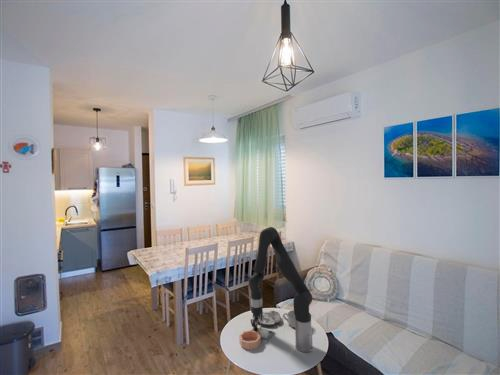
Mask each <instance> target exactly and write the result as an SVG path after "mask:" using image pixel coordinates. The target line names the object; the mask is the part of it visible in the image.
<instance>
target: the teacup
mask: <svg viewBox="0 0 500 375" xmlns="http://www.w3.org/2000/svg"><path fill="white" fill-rule="evenodd" d="M285 315H286V316H285ZM282 317H283V319H284V320H286V323H288V325H289V326H290V327H291V328H294V329H295V314H294V309H292V310H289V311H288V312H283V314H282Z"/></svg>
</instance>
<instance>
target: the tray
mask: <svg viewBox="0 0 500 375" xmlns="http://www.w3.org/2000/svg"><path fill="white" fill-rule="evenodd" d="M262 329H263V328H262V327H261V330H262ZM251 330H252V331H253V328H252V329H251ZM274 334H275V332H274V331H273V330H269V336H268V337H267V338H265V337H261V336H260V337H261V340H264V341H268V342H269V341H270V339H271V338H272V336H273V335H274ZM259 335H260V333H259Z"/></svg>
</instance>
